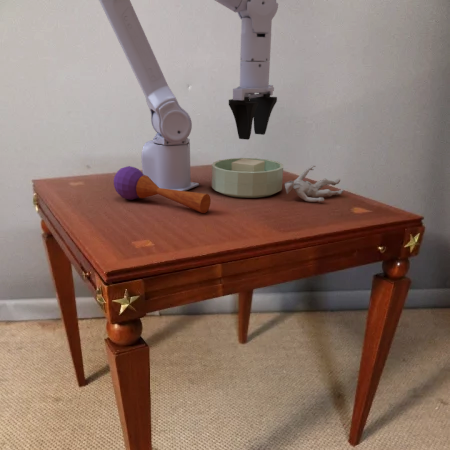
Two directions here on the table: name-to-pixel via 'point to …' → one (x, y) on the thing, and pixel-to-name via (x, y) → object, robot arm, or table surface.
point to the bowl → (247, 179)
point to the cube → (248, 165)
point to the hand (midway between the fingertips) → (252, 136)
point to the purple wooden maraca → (155, 190)
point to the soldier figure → (311, 188)
